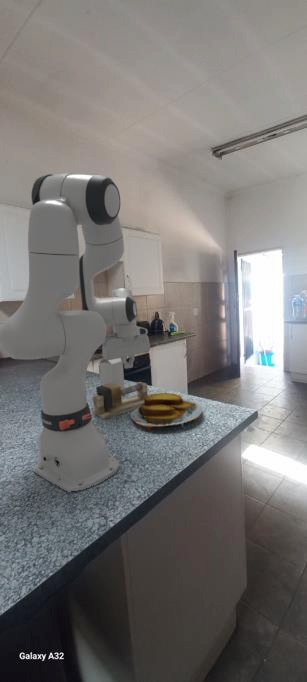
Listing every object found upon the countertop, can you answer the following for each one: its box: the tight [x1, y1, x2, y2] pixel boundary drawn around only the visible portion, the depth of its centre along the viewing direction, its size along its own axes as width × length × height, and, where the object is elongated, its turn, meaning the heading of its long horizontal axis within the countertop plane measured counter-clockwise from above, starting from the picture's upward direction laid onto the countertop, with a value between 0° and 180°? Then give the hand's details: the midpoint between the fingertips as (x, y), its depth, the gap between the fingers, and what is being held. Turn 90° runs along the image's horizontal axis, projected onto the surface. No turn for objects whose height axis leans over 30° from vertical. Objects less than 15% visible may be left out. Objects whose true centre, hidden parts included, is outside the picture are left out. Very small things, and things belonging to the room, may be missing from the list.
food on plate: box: [129, 392, 204, 432], centre depth 101 cm, size 25×25×7 cm
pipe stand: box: [91, 381, 149, 420], centre depth 111 cm, size 9×22×7 cm, turn 131°
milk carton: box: [98, 357, 125, 389], centre depth 125 cm, size 7×7×19 cm
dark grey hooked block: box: [95, 385, 113, 409], centre depth 106 cm, size 6×2×7 cm, turn 41°
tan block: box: [102, 383, 123, 407], centre depth 108 cm, size 6×4×7 cm, turn 41°
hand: (128, 367), depth 112 cm, fingers closed
